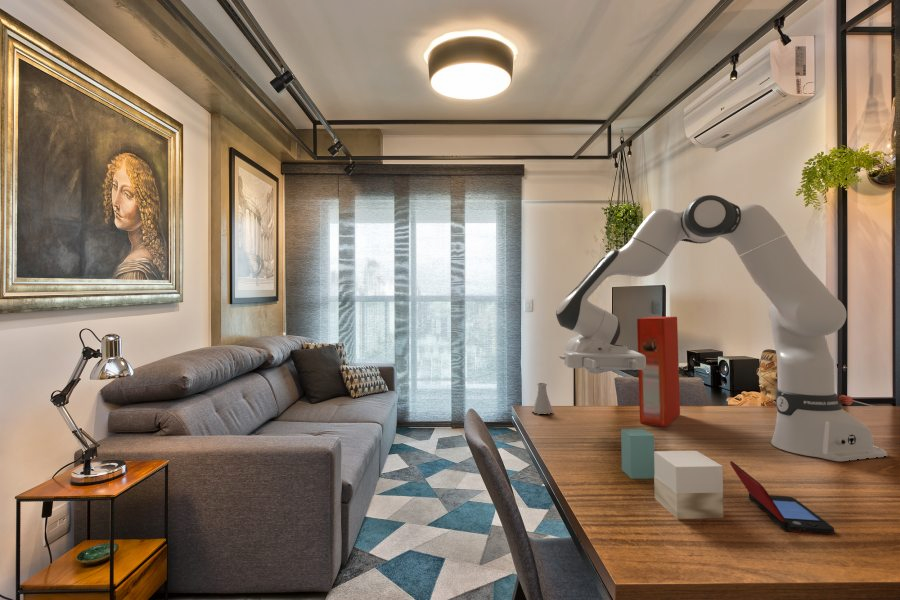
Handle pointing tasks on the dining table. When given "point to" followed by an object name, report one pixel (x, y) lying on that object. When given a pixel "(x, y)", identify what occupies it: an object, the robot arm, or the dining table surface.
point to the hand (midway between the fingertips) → (616, 365)
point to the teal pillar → (637, 453)
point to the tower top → (688, 472)
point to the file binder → (658, 370)
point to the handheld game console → (783, 508)
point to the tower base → (689, 502)
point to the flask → (542, 400)
